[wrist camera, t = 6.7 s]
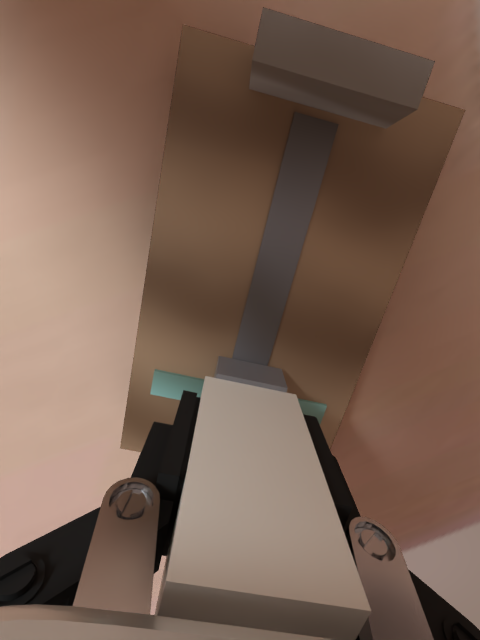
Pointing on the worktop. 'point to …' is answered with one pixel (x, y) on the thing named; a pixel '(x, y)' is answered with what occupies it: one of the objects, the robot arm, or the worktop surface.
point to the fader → (259, 518)
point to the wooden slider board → (282, 212)
